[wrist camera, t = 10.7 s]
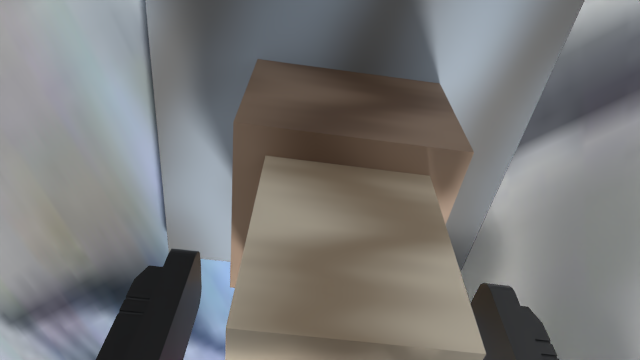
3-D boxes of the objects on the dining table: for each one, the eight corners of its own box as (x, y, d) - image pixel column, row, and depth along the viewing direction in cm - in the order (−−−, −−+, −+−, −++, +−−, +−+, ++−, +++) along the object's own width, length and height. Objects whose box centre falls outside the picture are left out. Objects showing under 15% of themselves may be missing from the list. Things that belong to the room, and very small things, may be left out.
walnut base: (576, -19, 16) (686, 34, 11) (449, 271, 24) (479, 373, 19) (148, -83, 15) (58, -58, 10) (174, 241, 24) (133, 340, 19)
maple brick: (430, 175, 13) (486, 354, 9) (392, 285, 16) (418, 466, 11) (265, 155, 13) (225, 328, 8) (256, 271, 16) (224, 449, 11)
